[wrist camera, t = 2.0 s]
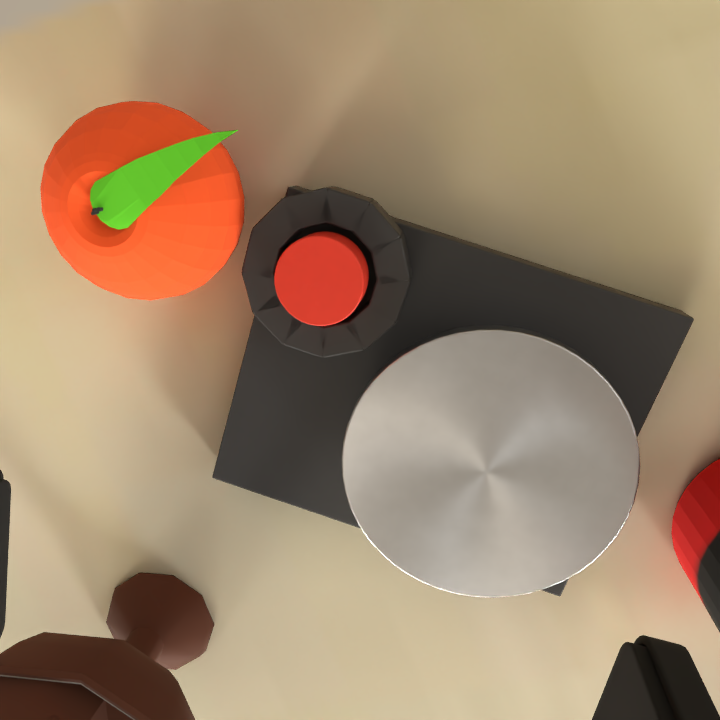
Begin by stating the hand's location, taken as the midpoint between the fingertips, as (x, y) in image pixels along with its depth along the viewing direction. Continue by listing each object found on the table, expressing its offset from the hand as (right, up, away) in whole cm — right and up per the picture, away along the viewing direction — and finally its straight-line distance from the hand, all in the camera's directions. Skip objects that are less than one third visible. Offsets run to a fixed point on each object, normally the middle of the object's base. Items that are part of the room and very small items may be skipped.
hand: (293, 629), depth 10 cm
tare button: (0, +7, +15) cm, 16 cm away
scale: (+4, +3, +18) cm, 19 cm away
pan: (+6, 0, +16) cm, 17 cm away
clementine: (-6, +11, +17) cm, 21 cm away
